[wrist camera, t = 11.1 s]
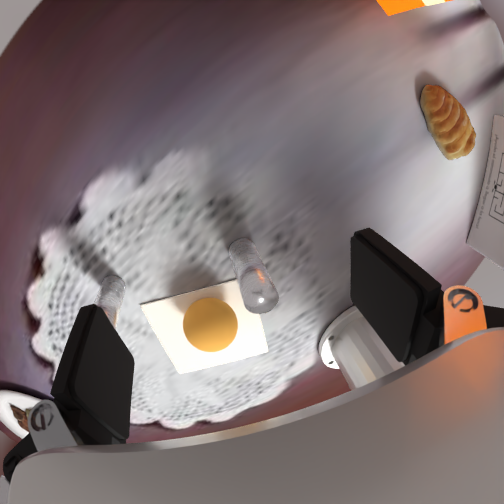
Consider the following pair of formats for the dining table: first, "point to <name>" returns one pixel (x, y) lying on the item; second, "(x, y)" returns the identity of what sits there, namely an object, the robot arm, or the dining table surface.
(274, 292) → the post right
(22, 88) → the dining table surface
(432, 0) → the orange juice
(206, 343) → the ball
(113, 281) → the post left
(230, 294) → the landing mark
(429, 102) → the pastry
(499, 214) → the cereal box
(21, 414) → the plated food
